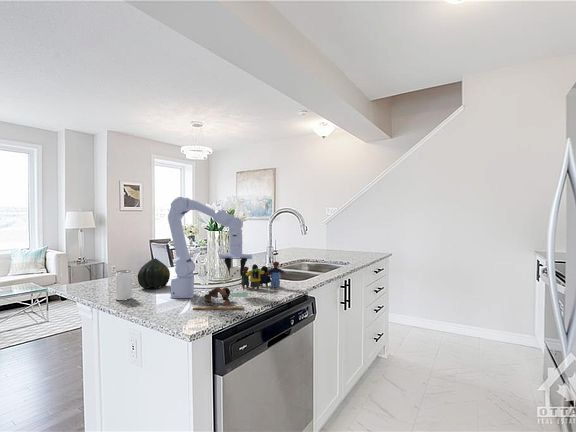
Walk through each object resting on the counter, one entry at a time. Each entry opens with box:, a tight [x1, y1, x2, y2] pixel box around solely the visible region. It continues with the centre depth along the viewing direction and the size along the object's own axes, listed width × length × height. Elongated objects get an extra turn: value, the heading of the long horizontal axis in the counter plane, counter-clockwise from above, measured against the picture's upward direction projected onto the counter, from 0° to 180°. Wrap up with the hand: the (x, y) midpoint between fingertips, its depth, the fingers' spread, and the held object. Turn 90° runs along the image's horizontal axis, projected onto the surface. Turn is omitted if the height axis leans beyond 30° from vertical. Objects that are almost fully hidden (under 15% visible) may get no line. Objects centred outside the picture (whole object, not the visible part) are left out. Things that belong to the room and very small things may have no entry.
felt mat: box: [230, 292, 249, 298], centre depth 147 cm, size 7×7×1 cm
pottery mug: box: [203, 286, 231, 306], centre depth 133 cm, size 12×10×8 cm
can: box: [114, 269, 133, 301], centre depth 141 cm, size 6×6×12 cm
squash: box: [137, 258, 171, 290], centre depth 163 cm, size 14×15×15 cm
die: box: [229, 266, 242, 280], centre depth 146 cm, size 5×5×5 cm
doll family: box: [240, 261, 287, 290], centre depth 161 cm, size 23×9×13 cm, turn 118°
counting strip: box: [192, 305, 244, 311], centre depth 126 cm, size 19×2×1 cm, turn 90°
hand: (235, 275), depth 146 cm, fingers closed on die, 4 cm apart
